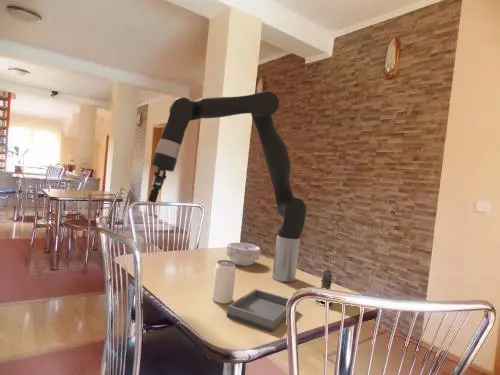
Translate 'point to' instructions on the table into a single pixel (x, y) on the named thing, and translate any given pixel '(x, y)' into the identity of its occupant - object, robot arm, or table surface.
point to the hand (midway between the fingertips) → (151, 201)
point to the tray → (259, 309)
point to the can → (224, 282)
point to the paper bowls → (242, 253)
